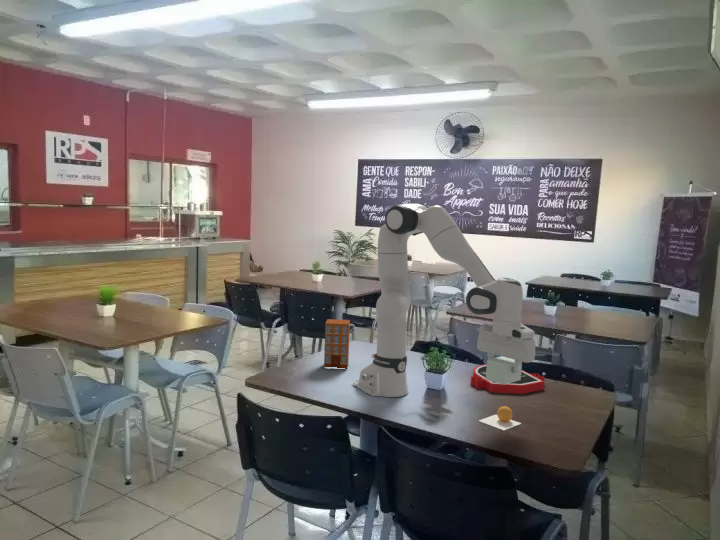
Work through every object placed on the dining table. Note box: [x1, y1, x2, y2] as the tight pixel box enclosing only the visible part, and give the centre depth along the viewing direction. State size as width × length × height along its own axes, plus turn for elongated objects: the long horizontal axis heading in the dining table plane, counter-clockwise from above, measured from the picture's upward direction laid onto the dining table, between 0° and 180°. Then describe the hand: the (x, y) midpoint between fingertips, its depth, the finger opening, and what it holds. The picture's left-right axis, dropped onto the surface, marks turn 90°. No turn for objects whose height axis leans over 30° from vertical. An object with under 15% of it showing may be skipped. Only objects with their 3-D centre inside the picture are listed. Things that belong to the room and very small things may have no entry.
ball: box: [496, 405, 514, 422], centre depth 187 cm, size 5×5×5 cm
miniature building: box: [323, 318, 351, 370], centre depth 242 cm, size 10×9×20 cm
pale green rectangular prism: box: [486, 356, 523, 385], centre depth 184 cm, size 7×10×7 cm
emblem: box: [470, 363, 545, 395], centre depth 231 cm, size 30×4×30 cm
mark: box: [478, 414, 522, 432], centre depth 186 cm, size 10×10×1 cm
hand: (503, 369), depth 184 cm, fingers closed on pale green rectangular prism, 7 cm apart
